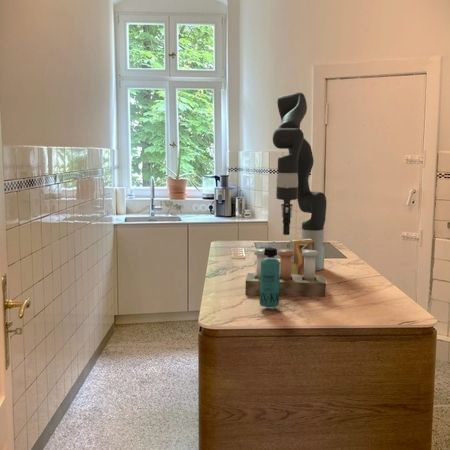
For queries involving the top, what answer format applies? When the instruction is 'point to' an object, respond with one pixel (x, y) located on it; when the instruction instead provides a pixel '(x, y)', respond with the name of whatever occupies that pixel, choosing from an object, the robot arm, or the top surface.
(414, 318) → the top surface
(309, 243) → the candy box
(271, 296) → the beverage bottle
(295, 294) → the walnut socket board
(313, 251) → the grey plug
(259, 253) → the grey plug
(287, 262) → the brown mushroom peg
